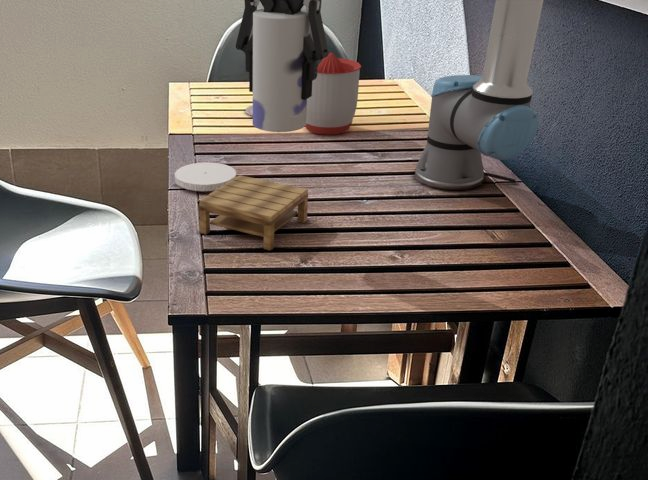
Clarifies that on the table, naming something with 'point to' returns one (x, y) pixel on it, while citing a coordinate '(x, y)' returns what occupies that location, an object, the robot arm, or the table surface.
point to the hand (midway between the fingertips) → (280, 93)
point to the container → (279, 70)
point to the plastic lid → (204, 176)
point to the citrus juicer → (333, 96)
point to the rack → (253, 207)
